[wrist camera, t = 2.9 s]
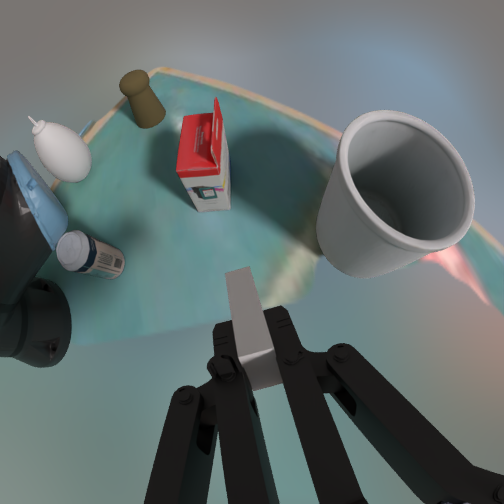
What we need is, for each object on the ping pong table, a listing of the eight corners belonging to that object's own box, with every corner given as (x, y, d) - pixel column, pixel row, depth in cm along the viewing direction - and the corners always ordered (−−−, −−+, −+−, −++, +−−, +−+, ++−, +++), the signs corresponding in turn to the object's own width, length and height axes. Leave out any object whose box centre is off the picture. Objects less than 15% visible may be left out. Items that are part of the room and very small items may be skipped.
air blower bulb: (108, 158, 44) (57, 94, 27) (87, 196, 42) (25, 139, 25) (81, 153, 45) (31, 97, 28) (61, 188, 43) (3, 137, 26)
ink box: (200, 164, 42) (176, 98, 28) (231, 161, 42) (218, 93, 28) (197, 213, 40) (166, 156, 26) (231, 211, 40) (215, 151, 26)
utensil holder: (383, 303, 35) (460, 280, 18) (291, 250, 38) (310, 188, 21) (416, 218, 38) (480, 161, 21) (335, 171, 41) (367, 88, 24)
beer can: (116, 241, 39) (74, 219, 27) (131, 266, 38) (91, 251, 27) (94, 261, 38) (48, 245, 27) (109, 286, 38) (63, 278, 26)
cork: (167, 121, 45) (149, 78, 35) (137, 133, 45) (113, 93, 34) (163, 101, 47) (147, 60, 36) (135, 112, 47) (114, 74, 36)
